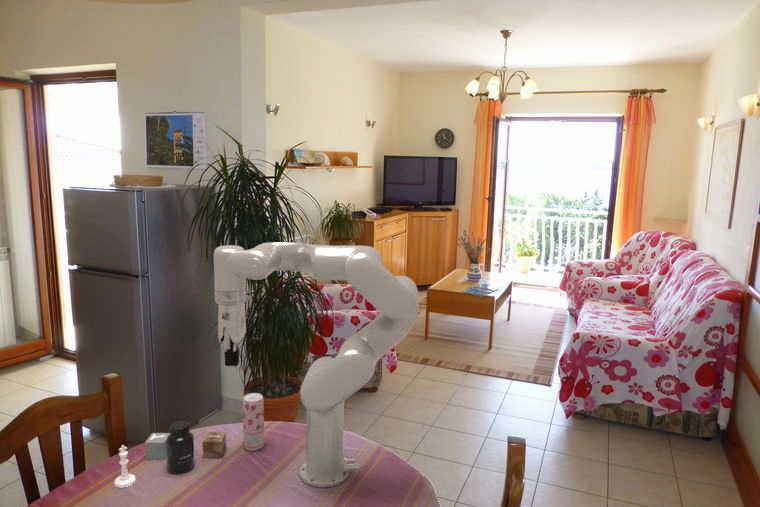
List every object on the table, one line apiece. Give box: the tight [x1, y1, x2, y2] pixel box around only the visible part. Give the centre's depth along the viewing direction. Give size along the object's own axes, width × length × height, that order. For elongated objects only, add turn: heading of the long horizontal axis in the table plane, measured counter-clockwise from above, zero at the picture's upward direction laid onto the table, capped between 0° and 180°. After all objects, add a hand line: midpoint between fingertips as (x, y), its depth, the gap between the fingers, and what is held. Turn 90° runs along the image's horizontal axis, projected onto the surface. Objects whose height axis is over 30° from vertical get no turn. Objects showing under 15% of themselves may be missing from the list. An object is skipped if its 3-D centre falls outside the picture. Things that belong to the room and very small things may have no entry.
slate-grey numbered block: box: [144, 432, 170, 460], centre depth 150 cm, size 5×5×5 cm
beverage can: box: [242, 392, 265, 452], centre depth 155 cm, size 6×6×15 cm
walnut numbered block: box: [202, 431, 227, 459], centre depth 152 cm, size 5×5×5 cm
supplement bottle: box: [166, 420, 195, 475], centre depth 144 cm, size 7×7×12 cm
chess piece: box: [114, 444, 137, 489], centre depth 137 cm, size 5×5×10 cm
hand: (232, 364), depth 140 cm, fingers closed
